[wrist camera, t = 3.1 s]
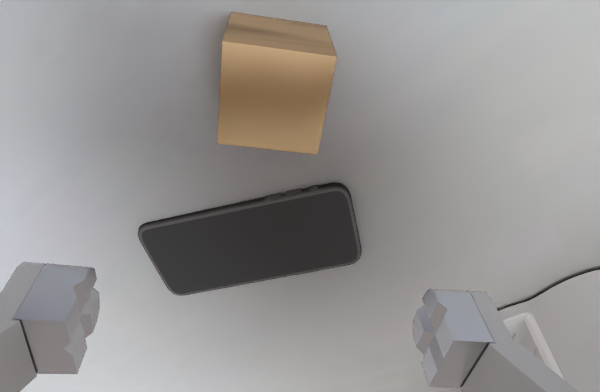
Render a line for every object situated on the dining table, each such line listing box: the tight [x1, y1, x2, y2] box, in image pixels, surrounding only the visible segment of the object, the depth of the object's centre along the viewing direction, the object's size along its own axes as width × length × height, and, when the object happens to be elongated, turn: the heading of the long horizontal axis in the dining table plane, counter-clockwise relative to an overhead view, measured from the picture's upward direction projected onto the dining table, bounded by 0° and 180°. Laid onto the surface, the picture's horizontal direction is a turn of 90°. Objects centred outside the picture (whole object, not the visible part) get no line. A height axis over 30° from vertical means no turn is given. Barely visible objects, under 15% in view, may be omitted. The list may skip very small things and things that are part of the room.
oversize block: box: [217, 12, 337, 154], centre depth 23 cm, size 5×5×5 cm
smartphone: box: [138, 183, 361, 295], centre depth 32 cm, size 7×1×15 cm
